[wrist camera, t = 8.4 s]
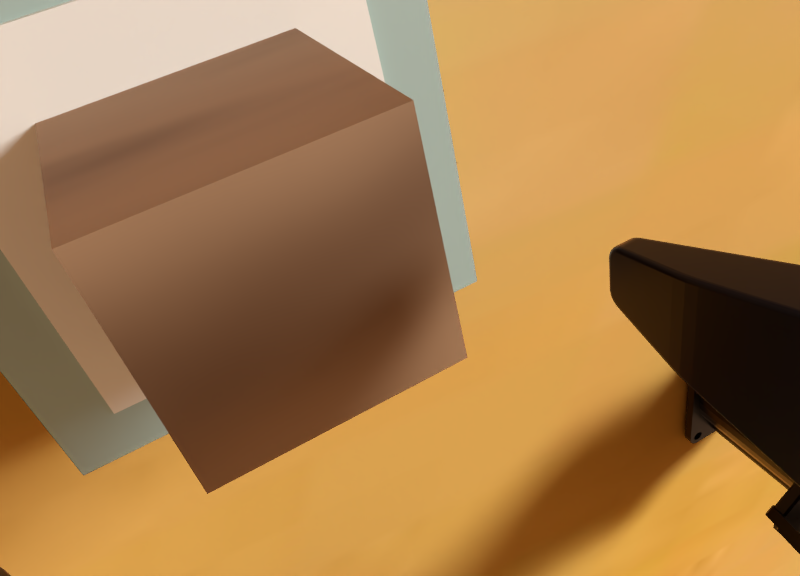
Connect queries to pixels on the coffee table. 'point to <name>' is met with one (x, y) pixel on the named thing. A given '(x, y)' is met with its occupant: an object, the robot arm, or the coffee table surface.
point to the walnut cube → (255, 246)
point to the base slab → (121, 70)
